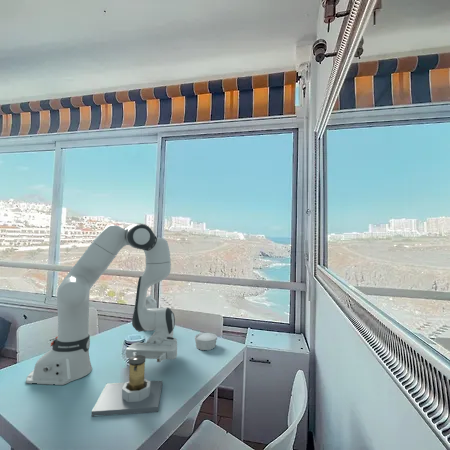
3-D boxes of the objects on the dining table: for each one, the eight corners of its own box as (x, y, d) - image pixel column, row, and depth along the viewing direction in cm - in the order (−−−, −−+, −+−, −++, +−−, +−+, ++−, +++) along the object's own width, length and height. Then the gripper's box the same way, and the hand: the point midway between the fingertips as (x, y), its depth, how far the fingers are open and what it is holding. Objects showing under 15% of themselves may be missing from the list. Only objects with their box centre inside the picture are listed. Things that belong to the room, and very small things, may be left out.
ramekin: (196, 342, 145) (196, 332, 146) (217, 342, 145) (217, 332, 145) (193, 351, 134) (193, 340, 134) (216, 352, 134) (216, 341, 134)
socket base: (91, 416, 86) (91, 401, 86) (106, 387, 102) (106, 375, 102) (157, 411, 89) (158, 397, 89) (162, 384, 105) (162, 372, 105)
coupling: (142, 400, 92) (143, 363, 93) (125, 401, 92) (126, 364, 92) (146, 387, 100) (146, 353, 100) (130, 388, 99) (131, 354, 100)
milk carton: (139, 329, 162) (140, 297, 163) (145, 325, 169) (146, 294, 170) (151, 330, 161) (152, 297, 162) (156, 326, 168) (157, 294, 169)
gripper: (133, 337, 120) (119, 350, 106) (180, 338, 119) (172, 352, 105) (132, 351, 120) (119, 367, 106) (180, 353, 119) (172, 369, 105)
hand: (146, 359), depth 106 cm, fingers open, 8 cm apart
